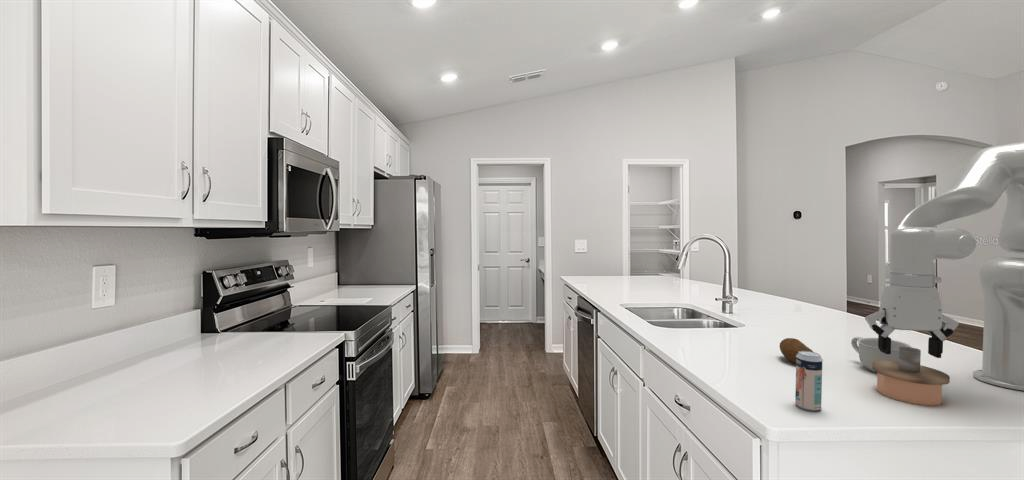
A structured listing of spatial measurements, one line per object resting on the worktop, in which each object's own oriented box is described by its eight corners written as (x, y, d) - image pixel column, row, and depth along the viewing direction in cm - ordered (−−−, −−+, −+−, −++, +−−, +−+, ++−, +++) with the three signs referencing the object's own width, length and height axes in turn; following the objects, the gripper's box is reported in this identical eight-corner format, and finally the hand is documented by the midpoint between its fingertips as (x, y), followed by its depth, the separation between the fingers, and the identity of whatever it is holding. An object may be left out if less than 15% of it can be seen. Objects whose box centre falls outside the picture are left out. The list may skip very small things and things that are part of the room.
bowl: (921, 388, 100) (922, 368, 99) (954, 407, 89) (955, 385, 89) (868, 384, 103) (868, 364, 103) (893, 401, 92) (894, 380, 92)
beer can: (796, 400, 93) (797, 348, 93) (822, 406, 90) (823, 353, 90) (793, 408, 90) (795, 354, 89) (821, 414, 87) (822, 358, 86)
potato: (800, 370, 113) (801, 345, 113) (769, 357, 124) (769, 334, 124) (822, 368, 114) (823, 344, 114) (789, 355, 125) (789, 333, 125)
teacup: (922, 378, 106) (923, 348, 106) (880, 378, 106) (881, 348, 106) (876, 361, 120) (876, 334, 120) (838, 360, 120) (839, 334, 120)
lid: (924, 367, 100) (925, 343, 100) (966, 387, 88) (966, 360, 88) (861, 362, 104) (861, 339, 104) (891, 381, 91) (892, 354, 91)
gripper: (946, 280, 96) (944, 352, 97) (858, 278, 101) (856, 346, 102) (971, 284, 89) (969, 363, 90) (875, 282, 94) (873, 356, 95)
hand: (909, 354), depth 96 cm, fingers open, 9 cm apart
